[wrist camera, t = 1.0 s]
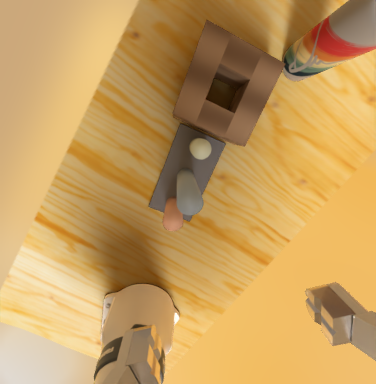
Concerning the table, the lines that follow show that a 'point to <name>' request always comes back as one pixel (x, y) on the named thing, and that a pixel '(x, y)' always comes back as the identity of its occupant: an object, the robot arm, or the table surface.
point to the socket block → (232, 75)
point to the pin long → (188, 193)
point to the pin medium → (172, 215)
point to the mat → (185, 166)
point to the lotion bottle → (333, 40)
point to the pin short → (200, 148)
